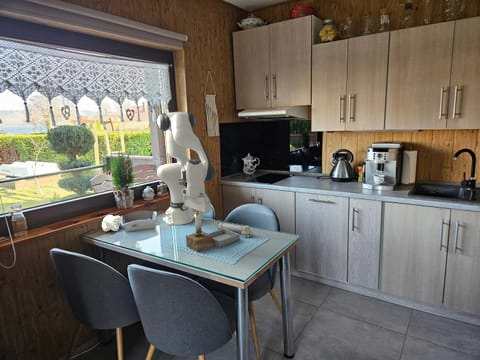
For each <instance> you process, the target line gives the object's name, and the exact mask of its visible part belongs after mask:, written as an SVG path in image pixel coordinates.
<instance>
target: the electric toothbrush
mask: <svg viewBox="0 0 480 360" xmlns="http://www.w3.org/2000/svg"><path fill="white" fill-rule="evenodd" d="M223 228H224V229H227V230H229V231H232V232H241V237H243V238H251V237H252V236H253V234H252V233H253V231H252V230H251V228H250V226H249V225H237V224H231V223H226V222H218V223H217V229H218V230H220V229H223Z"/></svg>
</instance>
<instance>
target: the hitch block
mask: <svg viewBox="0 0 480 360" xmlns="http://www.w3.org/2000/svg"><path fill="white" fill-rule="evenodd" d="M208 233H209V232H208ZM208 233H207V232H205V231H203V230H202V233H200V234H197V233H196V232H194V233H191V234H187V235H185V242H186V243H185V244H186V247H187V248H189V249H191V250H192V251H194V252H196V253H199V252H201V251H204V250H207V249H210V248H212V247H214V245H213V235H210V234H208Z"/></svg>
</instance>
